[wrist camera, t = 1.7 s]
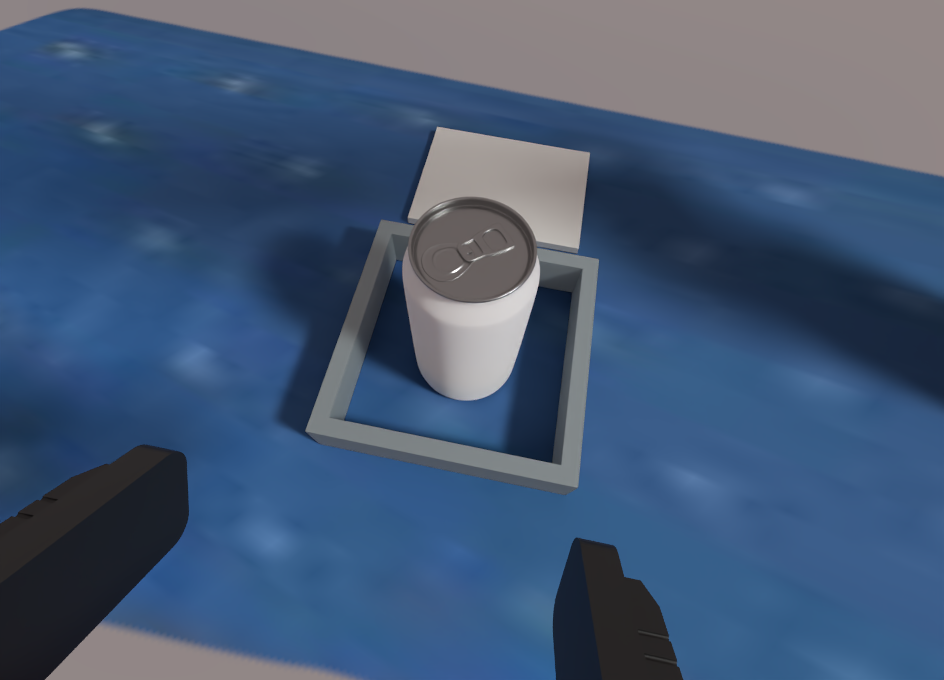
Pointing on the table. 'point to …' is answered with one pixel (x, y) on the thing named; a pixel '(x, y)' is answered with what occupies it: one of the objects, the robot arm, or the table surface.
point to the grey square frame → (487, 464)
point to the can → (469, 293)
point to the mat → (509, 182)
